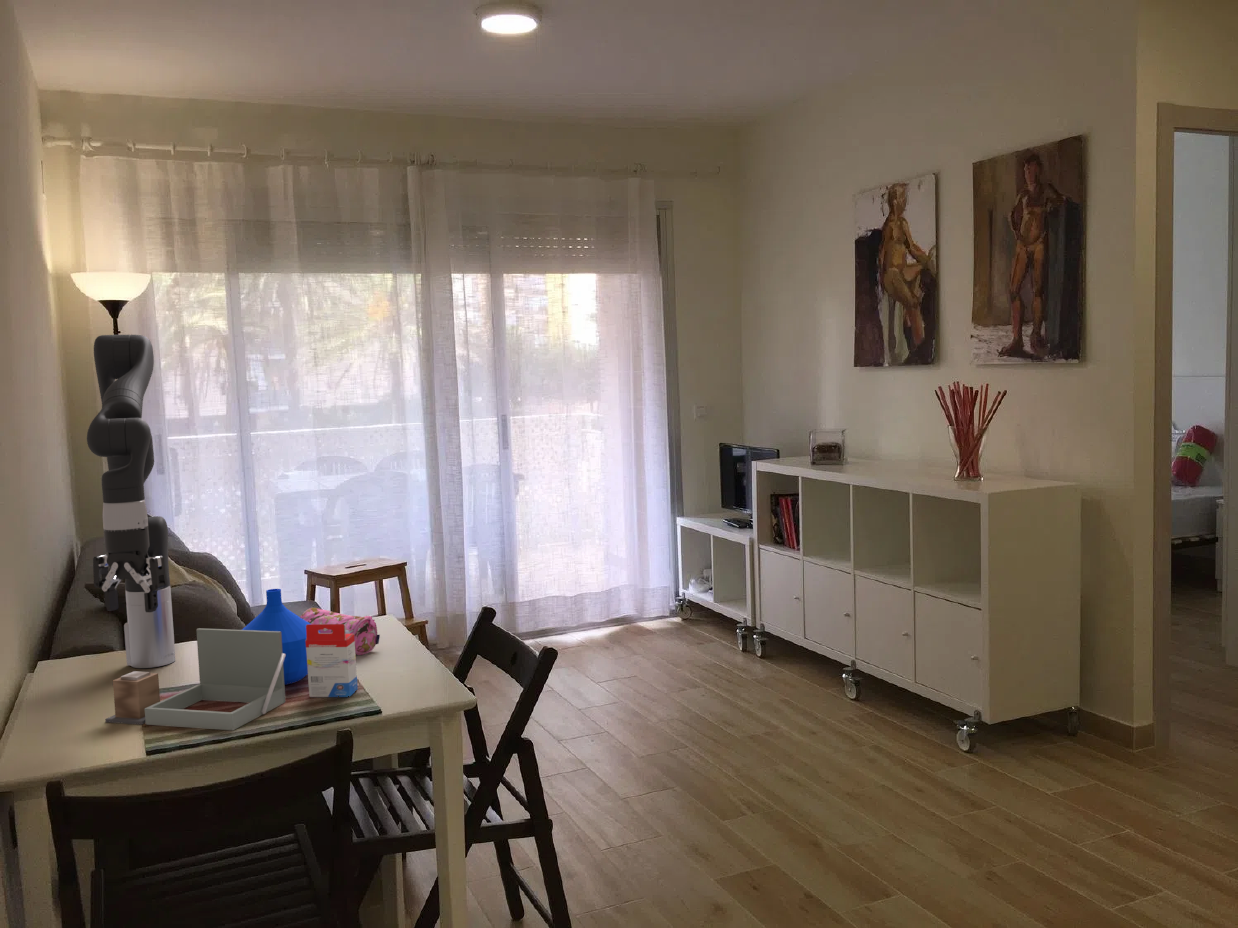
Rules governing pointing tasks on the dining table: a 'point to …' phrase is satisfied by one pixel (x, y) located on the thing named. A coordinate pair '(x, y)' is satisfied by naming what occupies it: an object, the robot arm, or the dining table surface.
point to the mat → (125, 720)
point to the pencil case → (347, 627)
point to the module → (135, 694)
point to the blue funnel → (284, 634)
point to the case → (228, 680)
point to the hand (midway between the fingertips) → (132, 610)
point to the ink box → (330, 661)
